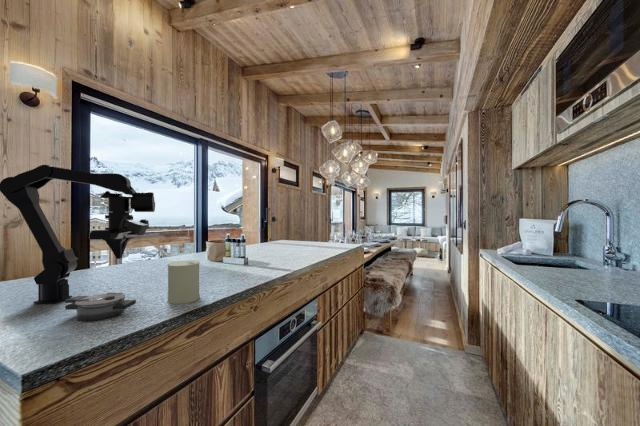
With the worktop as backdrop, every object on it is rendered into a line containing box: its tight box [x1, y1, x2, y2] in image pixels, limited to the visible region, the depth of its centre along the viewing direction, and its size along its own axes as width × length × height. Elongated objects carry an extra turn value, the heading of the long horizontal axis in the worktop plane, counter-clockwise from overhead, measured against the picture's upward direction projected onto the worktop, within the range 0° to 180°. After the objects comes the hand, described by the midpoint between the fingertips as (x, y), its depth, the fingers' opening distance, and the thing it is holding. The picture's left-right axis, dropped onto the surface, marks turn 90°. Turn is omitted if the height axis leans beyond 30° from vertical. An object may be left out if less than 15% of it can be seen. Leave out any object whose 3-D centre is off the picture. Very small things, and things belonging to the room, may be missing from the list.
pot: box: [65, 298, 137, 323], centre depth 76 cm, size 15×11×4 cm
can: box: [167, 260, 201, 305], centre depth 89 cm, size 9×9×12 cm
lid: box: [64, 292, 126, 306], centre depth 75 cm, size 13×11×1 cm
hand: (119, 258), depth 94 cm, fingers closed
